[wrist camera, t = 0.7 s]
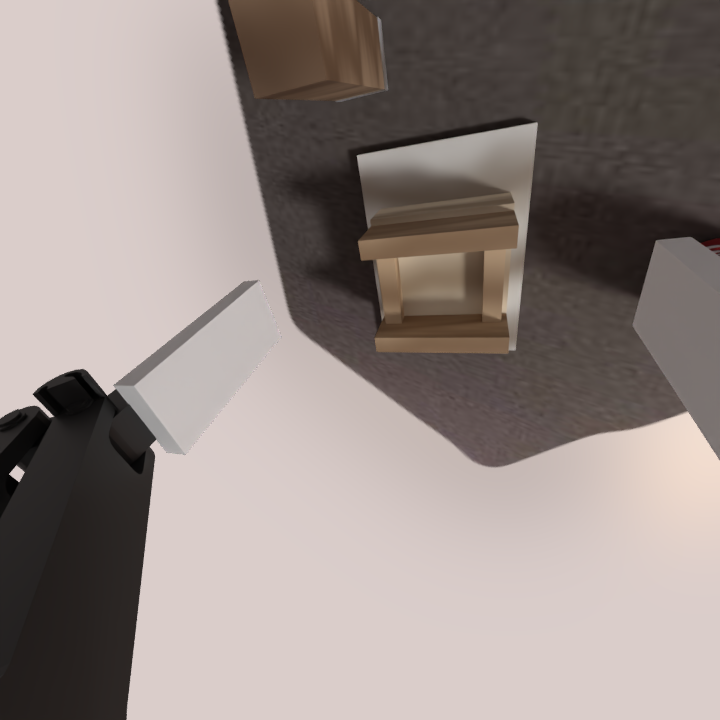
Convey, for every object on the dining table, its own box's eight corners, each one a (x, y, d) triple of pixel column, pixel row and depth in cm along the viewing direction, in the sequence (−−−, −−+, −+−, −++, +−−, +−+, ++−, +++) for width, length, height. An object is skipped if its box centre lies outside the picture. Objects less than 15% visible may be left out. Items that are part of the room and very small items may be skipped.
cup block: (360, 154, 30) (324, 169, 23) (535, 122, 26) (556, 128, 19) (388, 344, 41) (369, 393, 34) (514, 345, 37) (522, 400, 30)
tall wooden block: (329, 35, 26) (223, -14, 15) (381, 19, 25) (305, -46, 14) (340, 101, 28) (254, 100, 18) (387, 90, 27) (327, 81, 16)
